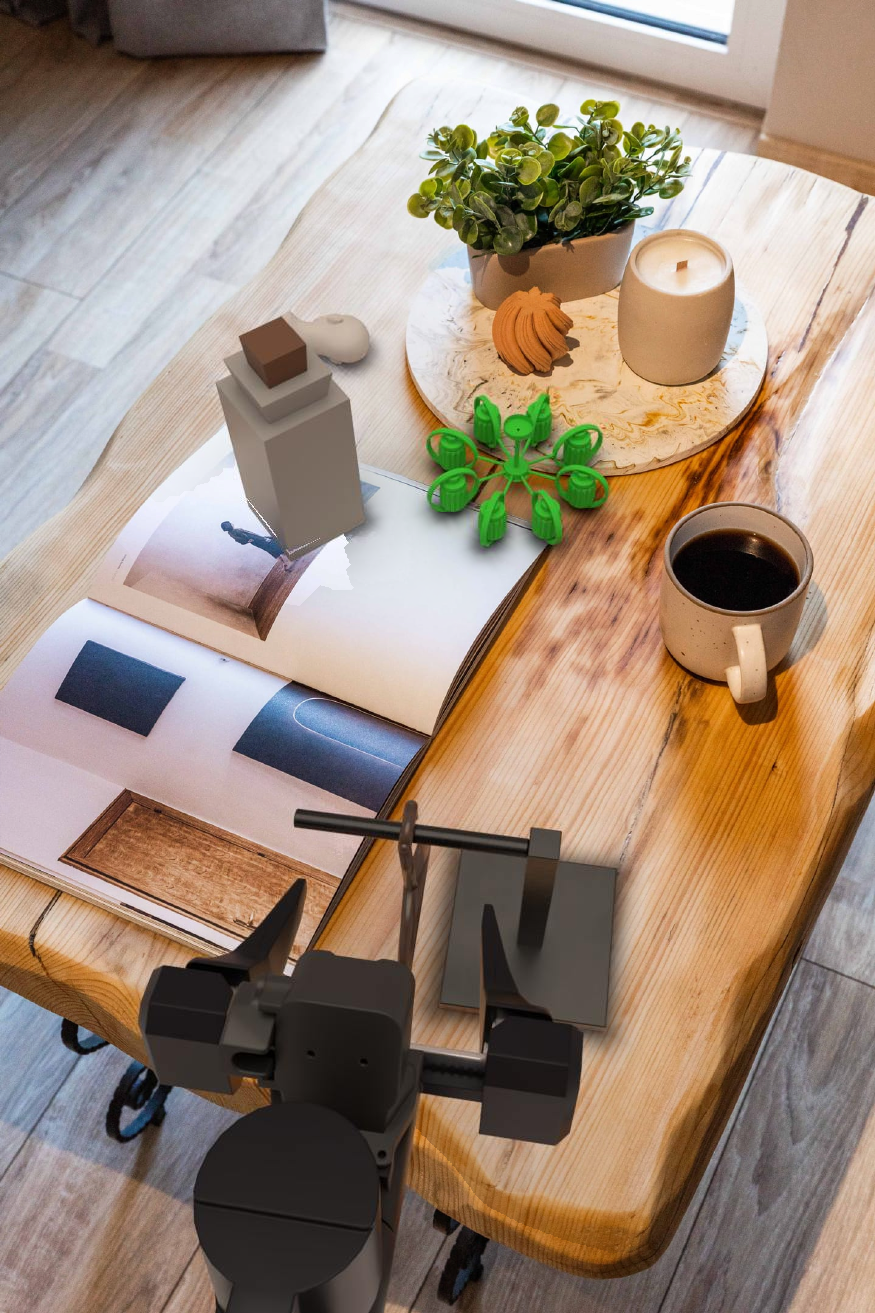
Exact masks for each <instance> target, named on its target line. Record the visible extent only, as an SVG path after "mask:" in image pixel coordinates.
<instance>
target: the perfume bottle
mask: <svg viewBox="0 0 875 1313" xmlns="http://www.w3.org/2000/svg"><path fill="white" fill-rule="evenodd" d="M238 340H239V343H240V345H241V348H242V349H241V350H239V351H237V352H235V353H233V354H230V355H228V356H227V357H224V358H222V361H223V363H224V364H225V366H226V368H227V369H228V371H229V373H230V374H229V375H227V376H225V377H223V378H221V379H219V380H216V381H215V387H216V390H217V393H218V397H219V401H220V405H221V409H222V412H223V417H224V420H225V425H226V428H227V431H228V435H229V440H230V442H231V446H232V450H233V454H234V457H235V461H236V466H237V468H238V473H239V477H240V480H241V484H242V488H243V491H244V495H245V499H246V498H247V499H248V500H249V501H248V500H247V499H246V503H247V506H248V508H249V510H251V512H252V513H253V515H254V516H255V517H256V519H257V520H258V521H259V523H260V524H261V525H262V527H263V528H264V529H265V530H266V531H267V533H268V534H269V535H270V537H271V538H272V539H273V541H274V542H275V543H276V545H277V546H278V547H279V549H280V550H281V551H282V552H283V554H284V555H285V557H286V558H287V559H288V560H289V562H290V563H293V562H295V561H297V560H298V559H300V558H302V557H304V556H306V555H308V554H310V553H312V552H313V551H316V550H317V549H319V548H321V547H322V546H324V545H326V544H328V543H330V542H332V541H333V540H335V539H337V538H339V537H341V536H343V535H345V534H346V533H348V532H351V531H353V530H354V529H356V528H358V527H360V526H361V525H363V524H365V523H366V516H365V507H364V500H363V499H364V498H363V492H362V484H361V476H360V469H359V461H358V460H359V459H358V453H357V445H356V437H355V428H354V422H353V413H352V405H351V398H350V397H349V396H348V395H347V393H345V391H344V390H343V389H342V387H340V386H339V384H338V383H337V382H336V381H335V380H334V379H333V378H332V377H333V374H334V372H333V371H332V370H331V369H330V368H329V366H327V364H326V363H325V362H324V361H323V360H322V359H321V358H320V357H319V355H317V354H316V353H315V352H314V351H313V350H312V349H311V348H310V346H309V345H308V344H307V343H306V342H305V341H304V340H303V339H302V338H301V336H300V335H299V334H298V333H297V332H296V331H295V330H294V329H293V327H291V326H290V325H289V324H288V323H287V322H286V321H285V320H284V319H283V317H282V315H280V316H278V317H276V318H273V319H272V320H270V321H268V322H266V323H264V324H262V325H258V326H257V327H255V328H253V329H251V330H249V331H247V332H244V333H242V334H240V335H238ZM249 502H250V503H251V504H252V505H253V506H254V508H255V509H256V510H257V511H258V513H259V514H260V515H261V516H262V517H263V519H264V520H265V521H266V522H267V524H268V525H269V526H270V528H271V529H272V530H273V532H274V533H275V534H276V536H277V537H278V539H279V540H280V541H281V542H282V543H283V545H284V546H285V548H286V549H287V550H288V551H289V552H290V551H293V550H294V549H297V548H299V547H301V546H304V545H306V544H308V543H310V544H308V545H307V546H305V547H303V548H301V549H299V550H297V551H295V552H294V553H292V554H290V555H289V553H288V552H287V551H286V550H285V548H284V547H283V546H282V544H281V543H280V542H279V540H278V539H277V538H276V536H275V535H274V534H273V533H272V531H271V530H270V529H269V527H268V526H267V525H266V523H265V522H264V521H263V520H262V518H261V517H260V516H259V514H258V513H257V512H256V510H255V509H254V508H253V507H252V505H251V504H250V503H249ZM319 538H320V539H319ZM317 539H318V540H317ZM315 540H316V541H315ZM313 541H314V542H313ZM311 542H312V543H311Z"/></svg>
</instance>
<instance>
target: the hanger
mask: <svg viewBox="0 0 875 1313" xmlns="http://www.w3.org/2000/svg"><path fill="white" fill-rule="evenodd" d="M418 820H419V803H418V802H417V801H416V800H414V799H408V800H407V801H406V802H405V804H404V807H403V814H402V819H401V822H402V824H401V830H400V836H399V841H397V852H398V857H399V858H398V859H399V864H400V869H401V875H402V881H403V887H402V898H401V899H402V900H401V910H400V913H401V914H400V921H399V933H398V934H399V936H398V947H397V957H396V961H398V962H401V963H402V964H404V965H406V966H407V967H408V968H409V969H410V970H411V971H412V972H413V964H414V958H415V951H416V945H417V938H418V932H419V926H420V920H421V913H422V909H423V908H422V906H423V902H424V901H423V900H424V894H425V887H426V883H427V882H426V881H427V876H428V869H429V863H430V858H431V857H430V856H431V851H432V850H431V849H432V846H430V845H422V844H416V846H415V849H414V851H413V848H412V846H413V843H412V841H413V835H414V829H415V824H417V821H418Z"/></svg>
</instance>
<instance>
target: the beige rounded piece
mask: <svg viewBox="0 0 875 1313" xmlns="http://www.w3.org/2000/svg"><path fill="white" fill-rule="evenodd" d="M281 316H282V317H283V319H284V320H285V321H286V322H287V323H288V324H289V325H290V326H291V327H293V329H294V330H295V331H296V332H297V333H298V334H299V335H300V336H301V338H302V339H303V340H304V341H305V342H306V343H307V344H308V345H309V346H310V348H311V349H312V350H313V351H314V352H315V353H316V354H317V355H318V356H324V357H327V358H328V360H329V361H330V362H331V363H333V364H335V365H341V364H342V363H347V364H349V363H355V362H358V361H360V360H361V359H363V358H364V357H366V355H367V353H368V351H369V348H370V344H371V336H370V333H369V330H368V328H367V326H366V325H365V323H364V322H363V321H362V320H361V319H359V318H358V317H356V316H354V315H350V314H341V313H331V314H325V315H322V316H319V317H317V318H315V319H313V320H312V321H306V320H302V319H301V318H298V317H297V316H296V315H295V314H294V313H293V312H292V311H287V312H286V313H284V314H282V315H281Z"/></svg>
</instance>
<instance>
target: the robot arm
mask: <svg viewBox="0 0 875 1313" xmlns="http://www.w3.org/2000/svg"><path fill="white" fill-rule="evenodd" d="M307 884H308V882H307V879H306V878H303V877H298V878H297V879H296V880H295V881H294V882H293V883H292V885H291V886H290V887H289V888H288V889H287V890H286V892H285V893H284V894H283V895H282V897H281V898H280V899H279V900H278V901H277V903H276V904H275V905H274V906H273V908H272V909H271V910H270V911H269V912H268V913H267V915H266V916H265V917H264V918H263V920H262V921H261V922H260V923H259V924H258V926H256V928H255V929H254V930H253V931H252V932H251V933H250V934H249V935H248V936H247V937H246V938H245V939H243V941H241V943H240V944H238V946H236V948H234V949H233V950H231V951H229V952H228V953H225V954H224V953H223V954H221V955H217V956H213V957H205V956H195V957H193V958H191V959H190V960H189V961H188V962H186V965H185V967H181V966H175V965H174V966H173V965H166V964H162V965H161V966H159V967H158V966H157V968H154V969H153V970H152V972H151V975H150V977H149V980H148V982H147V985H146V988H145V990H144V992H143V995H142V997H141V999H140V1003H139V1010H138V1018H137V1025H138V1028H139V1031H140V1032H139V1033H140V1034H141V1038H142V1041H143V1044H144V1048H145V1051H146V1054H147V1057H148V1060H149V1065H150V1068H151V1070H152V1071H153V1074H154V1076H155V1077H156V1079H157V1081H158V1083H159V1085H162V1086H168V1087H169V1086H170V1087H174V1088H175V1087H176V1088H182V1089H189V1090H194V1091H195V1090H196V1091H201V1092H208V1093H213V1094H214V1093H215V1094H221V1095H227V1096H232V1097H233V1096H234V1095H235V1094H236V1093H237V1091H238V1090H240V1088H241V1087H242V1083H243V1080H244V1078H246V1079H252V1080H256V1084H257V1085H256V1087H257V1088H262V1089H269V1093H270V1104H269V1105H265V1106H262V1107H259V1108H256V1109H254V1110H252V1111H250V1112H249V1113H247V1114H245V1115H243V1116H241V1117H240V1118H238V1119H237V1120H236V1121H234V1122H233V1123H232V1124H231V1125H229V1127H227V1128H226V1129H225V1130H224V1131H223V1132H222V1133H220V1135H219V1136H218V1138H217V1139H216V1140H215V1141H214V1143H213V1144H212V1145H211V1146H210V1148H209V1149H208V1151H206V1154H205V1157H204V1159H203V1161H202V1163H201V1165H200V1167H199V1169H198V1171H197V1175H196V1178H195V1182H194V1186H193V1189H192V1193H193V1198H192V1200H193V1202H192V1203H193V1204H192V1205H193V1224H194V1228H195V1231H196V1235H197V1238H198V1243H199V1247H200V1249H201V1252H202V1256H203V1258H204V1262H205V1265H206V1268H207V1271H208V1275H209V1278H210V1281H211V1284H212V1288H213V1290H214V1298H215V1299H214V1300H215V1311H214V1313H385V1309H386V1304H387V1298H388V1290H389V1285H390V1280H391V1272H392V1267H393V1261H394V1256H395V1250H396V1244H397V1238H398V1232H399V1226H400V1222H401V1221H400V1220H401V1215H402V1209H403V1208H402V1207H403V1203H404V1196H405V1191H406V1186H407V1185H406V1184H407V1178H408V1173H409V1166H410V1161H411V1156H412V1150H413V1143H414V1138H415V1130H416V1125H417V1120H418V1113H419V1107H420V1101H421V1094H423V1095H430V1096H436V1097H442V1098H447V1099H448V1098H449V1099H455V1100H462V1101H469V1102H475V1103H481V1105H480V1115H479V1126H478V1135H482V1136H488V1137H495V1138H500V1139H509V1140H513V1141H514V1140H515V1141H521V1142H528V1143H533V1144H540V1145H545V1146H551V1147H557V1145H559V1144H560V1143H561V1142H562V1141H563V1140H564V1139H565V1138H566V1137H567V1136H568V1135H569V1134H570V1133H571V1129H572V1126H573V1120H574V1117H575V1111H576V1107H577V1102H578V1098H579V1095H580V1094H579V1093H580V1089H581V1088H580V1087H581V1078H582V1070H583V1056H584V1054H583V1052H584V1035H585V1034H584V1032H582V1031H581V1030H580V1029H579V1028H576V1027H574V1026H573V1025H572V1024H565V1023H558V1022H553V1015H552V1013H551V1011H550V1010H548V1009H547V1008H545V1007H542V1006H536V1005H532V1004H530V1003H529V1002H528V1001H527V1000H526V999H525V998H524V997H523V996H522V995H521V994H520V992H519V990H518V988H517V986H516V983H515V981H514V979H513V976H512V974H511V971H510V969H509V965H508V962H507V958H506V954H505V950H504V947H503V943H502V939H501V935H500V931H499V927H498V923H497V919H496V915H495V911H494V908H493V905H492V904H487V903H485V904H484V910H483V916H482V924H481V936H480V1014H479V1036H478V1037H479V1042H478V1044H479V1052H476V1051H475V1052H474V1051H468V1050H461V1049H454V1048H448V1047H440V1046H434V1045H428V1044H422V1043H416V1042H415V1043H414V1042H412V1030H413V1016H414V1005H415V1004H414V1003H415V995H416V985H417V982H416V977H415V974H414V973H413V970H412V971H411V970H410V969H409V968H408V967H407V966H406V965H404V964H402V963H401V962H398V961H397V960H394V959H389V958H380V959H377V960H372V959H367V958H359V957H351V956H345V955H337V954H335V953H334V952H333V951H331V950H326V949H310V950H307V951H305V952H303V953H302V954H300V956H299V957H298V958H297V960H296V963H295V966H294V967H293V971H292V973H291V975H290V976H287V975H286V976H285V975H284V972H285V969H286V966H287V963H288V960H289V957H290V954H291V952H292V949H293V946H294V942H295V940H296V937H297V934H298V931H299V928H300V925H301V921H302V918H303V913H304V908H305V905H306V899H307V894H308V885H307Z"/></svg>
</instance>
